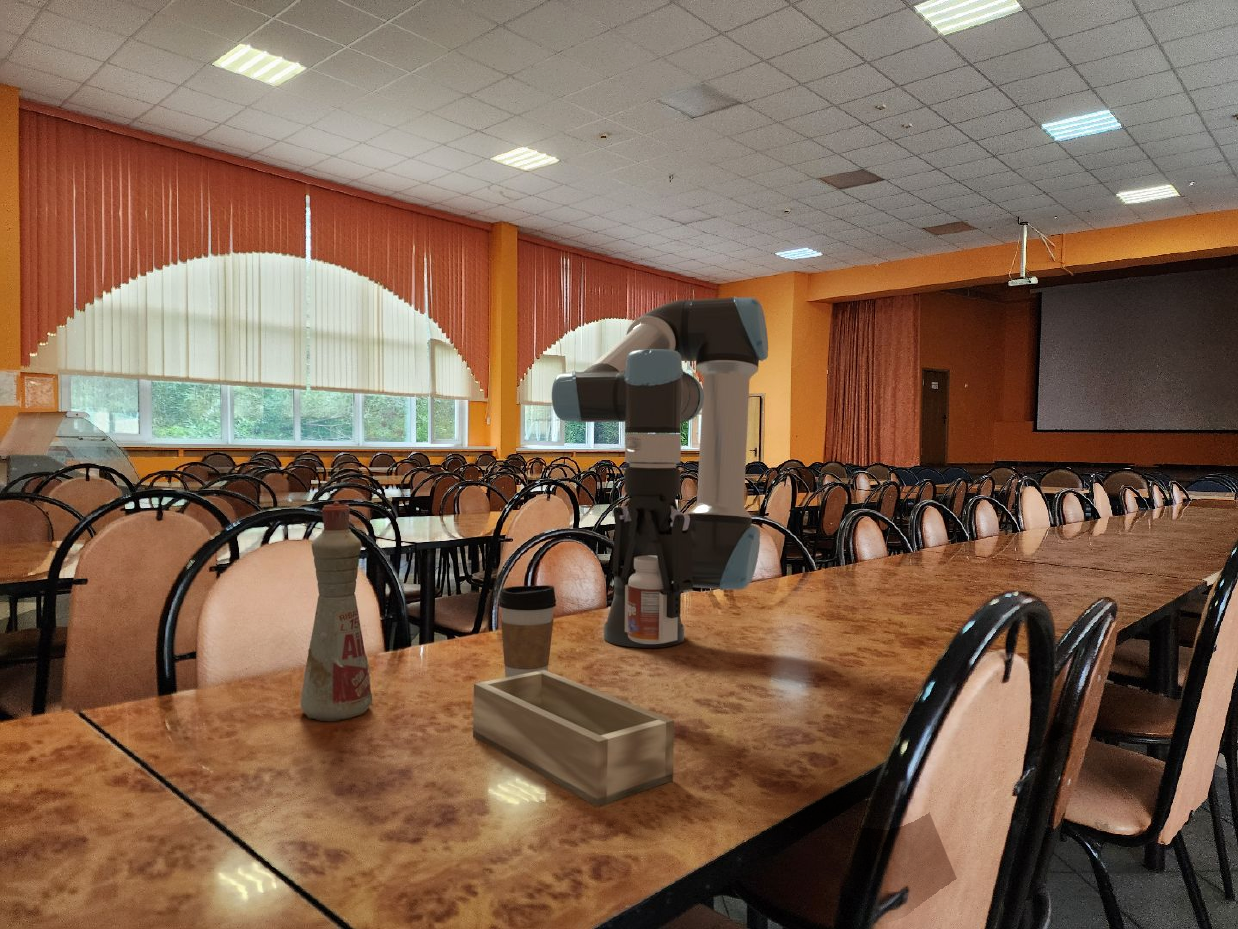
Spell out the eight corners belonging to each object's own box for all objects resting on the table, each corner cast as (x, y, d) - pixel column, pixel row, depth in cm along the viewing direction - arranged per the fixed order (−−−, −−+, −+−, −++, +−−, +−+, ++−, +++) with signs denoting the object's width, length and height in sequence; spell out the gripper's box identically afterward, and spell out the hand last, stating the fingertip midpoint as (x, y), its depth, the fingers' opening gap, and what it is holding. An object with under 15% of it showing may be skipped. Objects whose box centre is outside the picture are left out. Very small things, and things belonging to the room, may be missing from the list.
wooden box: (543, 719, 104) (544, 669, 104) (672, 780, 86) (674, 720, 86) (472, 736, 98) (473, 683, 98) (597, 807, 79) (598, 741, 79)
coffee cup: (545, 699, 113) (547, 593, 113) (488, 694, 115) (490, 590, 114) (561, 682, 121) (563, 583, 121) (508, 678, 123) (510, 581, 123)
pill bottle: (627, 633, 111) (628, 554, 111) (671, 633, 111) (672, 554, 111) (627, 645, 105) (628, 561, 105) (674, 645, 105) (675, 561, 105)
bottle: (315, 700, 110) (318, 498, 110) (380, 702, 110) (383, 499, 110) (287, 722, 102) (290, 502, 101) (358, 724, 101) (361, 503, 101)
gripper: (586, 463, 112) (585, 626, 113) (682, 469, 98) (680, 656, 99) (627, 462, 117) (625, 618, 118) (724, 468, 102) (721, 646, 103)
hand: (650, 635), depth 108 cm, fingers closed on pill bottle, 6 cm apart
